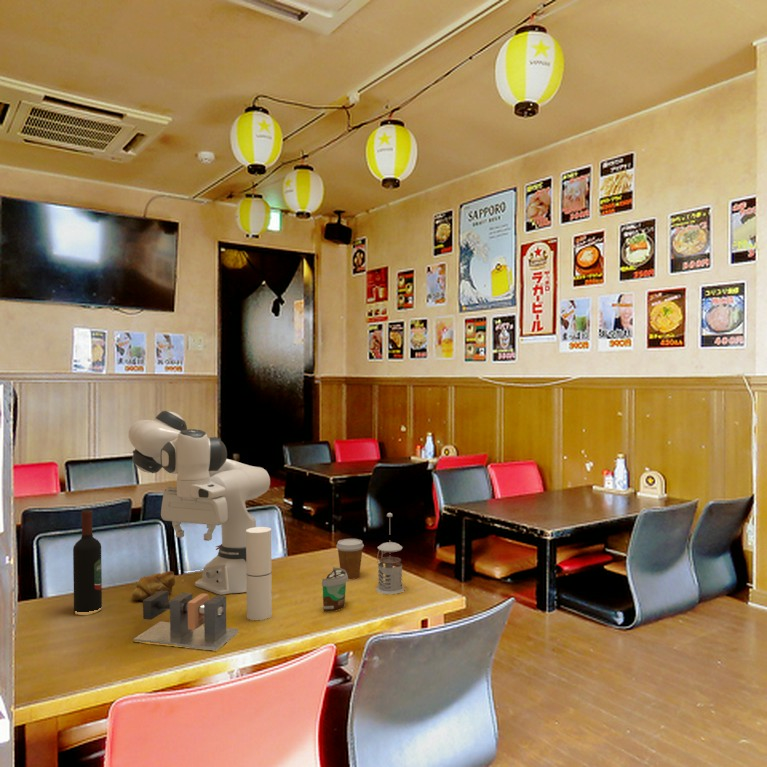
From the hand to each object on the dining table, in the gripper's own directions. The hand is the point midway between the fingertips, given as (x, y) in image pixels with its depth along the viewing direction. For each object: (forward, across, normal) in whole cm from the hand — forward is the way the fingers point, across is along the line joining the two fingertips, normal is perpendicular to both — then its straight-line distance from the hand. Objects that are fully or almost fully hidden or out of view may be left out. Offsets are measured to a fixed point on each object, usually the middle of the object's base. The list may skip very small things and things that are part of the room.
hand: (193, 538), depth 172 cm
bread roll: (+25, -29, +16) cm, 41 cm away
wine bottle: (+25, -38, -1) cm, 46 cm away
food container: (+25, +30, +28) cm, 48 cm away
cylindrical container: (+25, +12, +14) cm, 31 cm away
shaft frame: (+25, +2, -6) cm, 26 cm away
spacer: (+21, +6, -6) cm, 22 cm away
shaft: (+19, +2, -6) cm, 20 cm away
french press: (+25, +39, +49) cm, 67 cm away
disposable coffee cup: (+25, +22, +56) cm, 65 cm away
